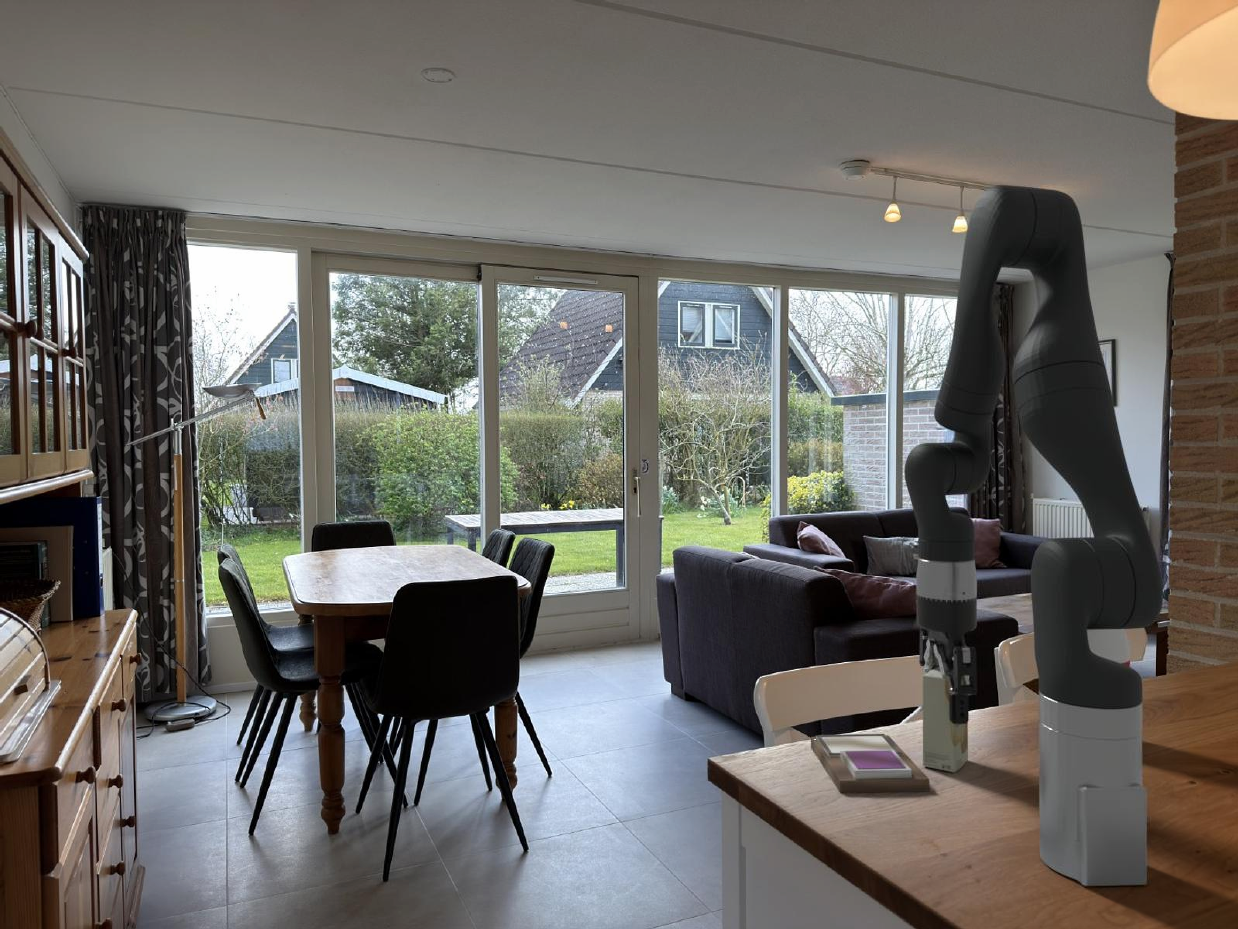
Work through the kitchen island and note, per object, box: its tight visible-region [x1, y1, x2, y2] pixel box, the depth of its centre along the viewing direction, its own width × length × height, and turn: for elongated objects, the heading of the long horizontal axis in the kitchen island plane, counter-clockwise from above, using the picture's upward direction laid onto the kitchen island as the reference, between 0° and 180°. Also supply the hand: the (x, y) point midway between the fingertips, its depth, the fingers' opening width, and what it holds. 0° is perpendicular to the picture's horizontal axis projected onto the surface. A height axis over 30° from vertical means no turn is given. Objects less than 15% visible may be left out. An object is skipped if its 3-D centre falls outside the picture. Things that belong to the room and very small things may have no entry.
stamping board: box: [810, 733, 930, 794], centre depth 115 cm, size 16×11×3 cm
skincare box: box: [922, 667, 969, 774], centre depth 116 cm, size 6×4×12 cm
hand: (946, 712), depth 117 cm, fingers open, 8 cm apart
